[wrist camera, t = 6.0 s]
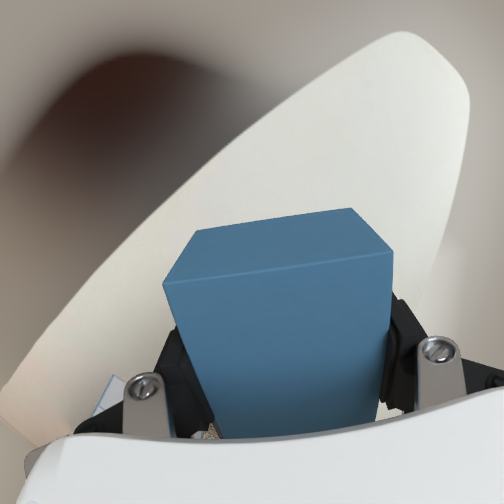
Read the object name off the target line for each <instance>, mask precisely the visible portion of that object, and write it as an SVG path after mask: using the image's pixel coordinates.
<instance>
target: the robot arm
mask: <svg viewBox="0 0 504 504" xmlns="http://www.w3.org/2000/svg"><path fill="white" fill-rule="evenodd" d="M379 399H380V401H381V403H384V402H386V405H387V408H388V410H390V409H394V408H397V409H400V410H402V415H400V416H396V417H392V418H388V419H384V420H379V421H375V422H370V423H366V424H361V425H356V426H351V427H345V428H339V429H333V430H327V431H320V432H313V433H306V434H297V435H287V436H276V437H263V438H243V439H195V438H194V435H193V434H195V433H196V432H198V431H208V428H209V423H213V422H214V419H215V416H214V414H213V412H212V409H211V407H210V405H209V403H208V400H207V398H206V396H205V394H204V391H203V389H202V387H201V384H200V382H199V379H198V377H197V375H196V372H195V370H194V367H193V365H192V362H191V360H190V357H189V355H188V354H187V352H186V349H185V346H184V344H183V341H182V339H181V336H180V333H179V331H178V328H177V325H176V327H175V329H174V330H172V331H171V332H170V333H169V336H168V338H167V340H166V343H165V345H164V347H163V350H162V352H161V354H160V357H159V359H158V361H157V364H156V366H155V369H154V371H153V372H145V373H141V374H138V375H136V376H135V377H133V378H131V379H130V380H129V381H128V382H127V384H126V385H125V388H124V394H123V400H122V401H120V402H119V403H117V404H115V405H113V406H111V407H110V408H108V409H106V410H104V411H102V412H100V413H99V414H97V415H95V416H93V417H91V418H89V419H87V420H86V421H84V422H82V423H81V424H79V426H78V427H77V428H76V429H75V431H74V433H73V435H67V436H64V437H61V438H59V439H56V440H55V441H53V442H51V443H49V444H46V445H44V446H42V447H39V448H37V449H35V450H33V451H31V452H30V453H29V454H28V455H27V456H26V458H25V461H24V469H25V474H26V482H25V484H24V486H23V488H22V490H21V492H20V494H19V497H18V499H17V502H16V504H504V371H503V370H500V369H496V368H493V367H489V366H486V365H483V364H479V363H476V362H473V361H469V360H466V359H463V358H461V355H460V350H459V348H458V345H457V344H456V343H455V342H454V341H453V340H451V339H449V338H447V337H444V336H431V337H428V336H427V334H426V333H425V331H424V329H423V328H422V326H421V325H420V323H419V322H418V320H417V319H416V317H415V316H414V314H413V313H412V311H411V310H410V308H409V307H408V305H407V304H406V302H405V301H404V300H403V299H400V300H398V299H397V298H396V296H395V295H394V293H393V292H392V300H391V313H390V325H389V329H388V337H387V346H386V354H385V362H384V369H383V376H382V382H381V388H380V394H379Z"/></svg>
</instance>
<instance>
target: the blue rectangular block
mask: <svg viewBox="0 0 504 504" xmlns="http://www.w3.org/2000/svg"><path fill="white" fill-rule="evenodd" d="M392 282H393V250H392V249H391V248H390V247H389V246H388V245H387V244H386V243H385V242H384V241H383V240H382V238H381V237H380V236H379V235H378V234H377V233H376V232H375V231H374V230H373V229H372V228H371V227H370V226H369V225H368V224H367V223H366V222H365V221H364V220H363V219H362V218H361V217H360V216H359V215H358V214H357V213H356V212H355V211H354V210H353V209H352V208H344V209H337V210H329V211H322V212H315V213H307V214H300V215H293V216H286V217H280V218H273V219H266V220H260V221H253V222H247V223H240V224H234V225H228V226H221V227H215V228H209V229H203V230H197V231H196V232H195V233H194V235H193V236H192V238H191V239H190V241H189V242H188V244H187V246H186V247H185V249H184V250H183V252H182V253H181V255H180V256H179V258H178V259H177V261H176V262H175V264H174V266H173V267H172V269H171V270H170V272H169V273H168V275H167V277H166V278H165V280H164V281H163V284H162V285H163V288H164V291H165V294H166V297H167V300H168V303H169V306H170V309H171V311H172V314H173V317H174V320H175V323H176V325H177V328H178V331H179V333H180V336H181V339H182V341H183V344H184V346H185V349H186V352H187V354H188V355H189V357H190V360H191V362H192V365H193V367H194V370H195V372H196V375H197V377H198V379H199V382H200V384H201V387H202V389H203V391H204V394H205V396H206V398H207V400H208V403H209V405H210V407H211V409H212V412H213V414H214V416H215V419H216V422H217V424H218V426H219V428H220V430H221V432H222V434H223V436H224V438H225V439H243V438H263V437H276V436H287V435H297V434H306V433H313V432H320V431H327V430H333V429H339V428H345V427H351V426H356V425H361V424H366V423H370V422H375V418H376V413H377V408H378V403H379V394H380V388H381V382H382V376H383V369H384V362H385V354H386V346H387V337H388V329H389V325H390V313H391V300H392Z"/></svg>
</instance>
